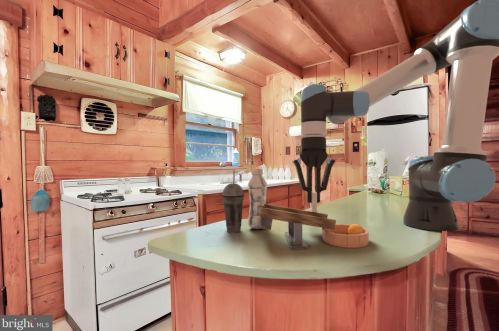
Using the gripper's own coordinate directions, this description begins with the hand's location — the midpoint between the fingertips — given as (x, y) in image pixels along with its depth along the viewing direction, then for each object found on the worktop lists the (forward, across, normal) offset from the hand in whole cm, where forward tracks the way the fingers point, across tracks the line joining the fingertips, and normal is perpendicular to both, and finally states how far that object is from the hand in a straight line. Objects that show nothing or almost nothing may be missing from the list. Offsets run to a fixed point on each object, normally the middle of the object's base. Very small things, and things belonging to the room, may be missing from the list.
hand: (313, 213), depth 78 cm
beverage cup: (+7, +25, -4) cm, 26 cm away
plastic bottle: (+7, +17, -6) cm, 19 cm away
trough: (+3, +8, +4) cm, 9 cm away
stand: (+6, +7, +8) cm, 12 cm away
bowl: (+6, -7, +8) cm, 12 cm away
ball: (+4, -10, +8) cm, 13 cm away
